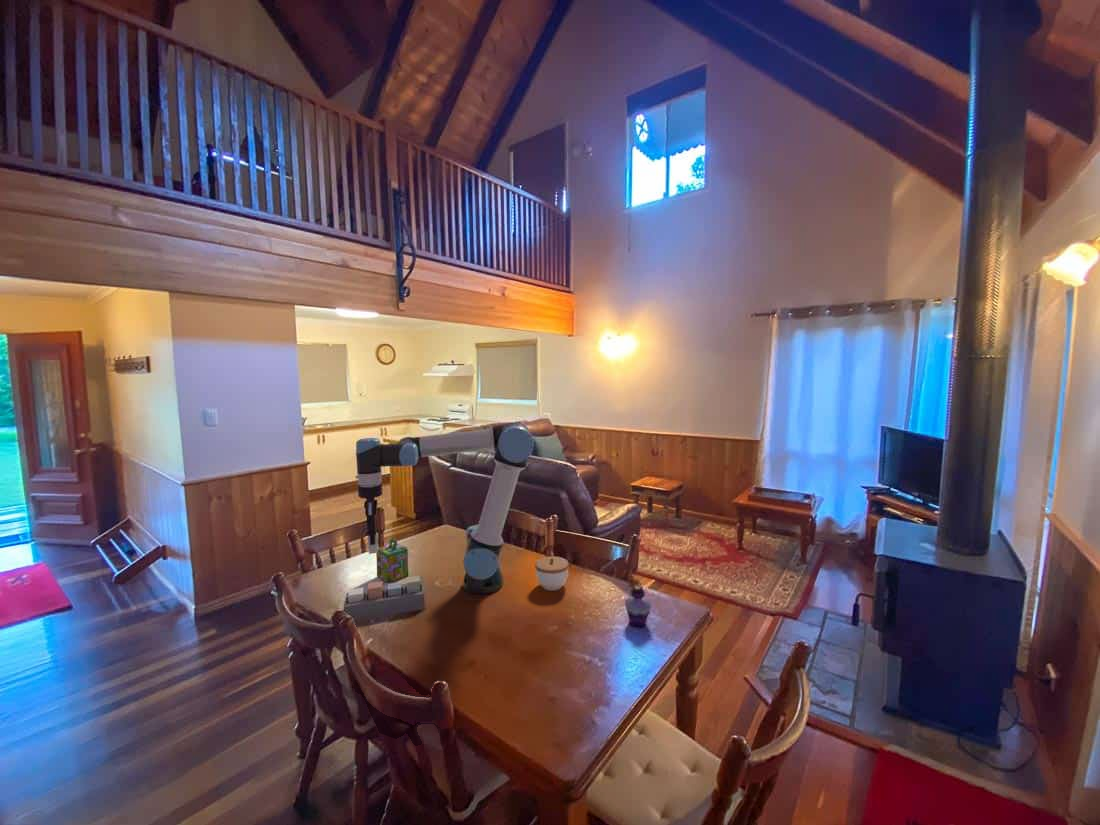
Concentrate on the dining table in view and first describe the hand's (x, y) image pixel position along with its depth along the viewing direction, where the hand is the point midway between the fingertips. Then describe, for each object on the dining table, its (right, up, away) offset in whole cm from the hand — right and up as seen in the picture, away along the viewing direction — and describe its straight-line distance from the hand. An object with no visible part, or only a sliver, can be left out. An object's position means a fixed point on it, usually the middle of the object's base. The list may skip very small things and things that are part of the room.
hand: (373, 552), depth 155 cm
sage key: (+12, -16, +5) cm, 21 cm away
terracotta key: (0, -17, +2) cm, 17 cm away
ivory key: (-6, -18, 0) cm, 19 cm away
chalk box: (-3, -18, +28) cm, 33 cm away
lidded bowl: (+61, -18, +17) cm, 66 cm away
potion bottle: (+88, -20, -8) cm, 91 cm away
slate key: (+6, -18, +4) cm, 19 cm away
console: (+3, -20, +3) cm, 21 cm away
